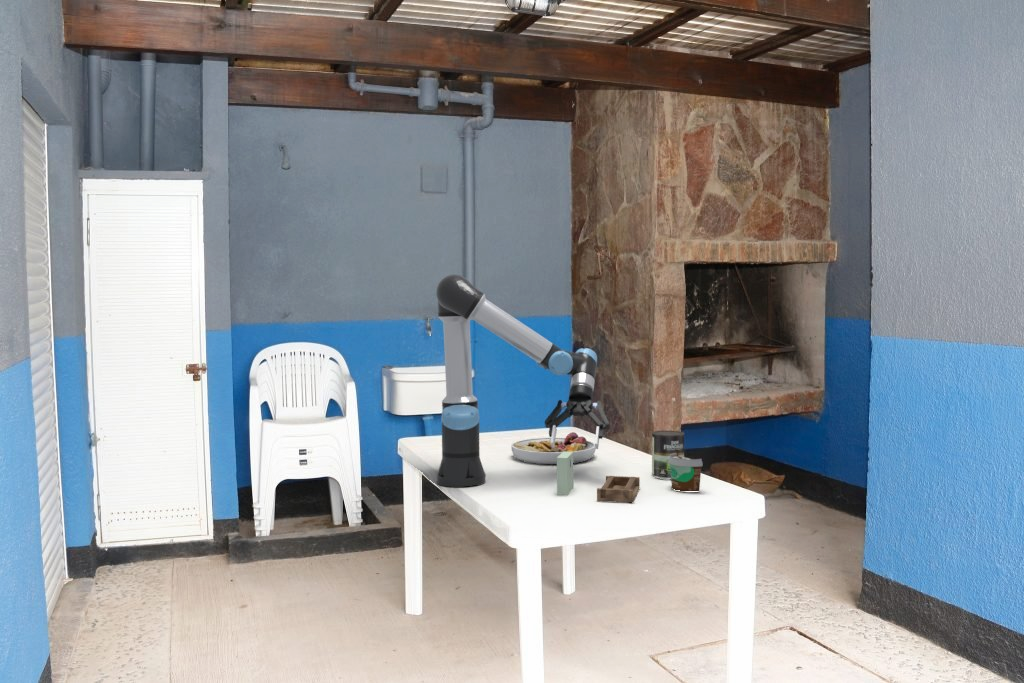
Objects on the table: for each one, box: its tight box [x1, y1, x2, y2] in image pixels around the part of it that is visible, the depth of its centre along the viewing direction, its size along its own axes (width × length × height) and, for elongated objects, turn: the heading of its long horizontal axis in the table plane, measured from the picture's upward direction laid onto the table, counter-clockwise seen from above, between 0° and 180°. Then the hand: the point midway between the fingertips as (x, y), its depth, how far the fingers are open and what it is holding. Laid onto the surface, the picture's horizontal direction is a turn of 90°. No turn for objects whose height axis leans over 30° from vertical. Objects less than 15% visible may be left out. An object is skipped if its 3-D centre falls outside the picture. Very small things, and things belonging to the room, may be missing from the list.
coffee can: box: [651, 429, 686, 480], centre depth 271 cm, size 10×10×14 cm
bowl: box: [510, 431, 597, 465], centre depth 304 cm, size 30×30×8 cm
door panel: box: [556, 451, 574, 496], centre depth 252 cm, size 3×10×11 cm, turn 165°
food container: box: [668, 453, 704, 492], centre depth 252 cm, size 12×6×10 cm, turn 29°
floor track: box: [596, 475, 641, 503], centre depth 247 cm, size 10×18×4 cm, turn 165°
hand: (574, 445), depth 259 cm, fingers open, 13 cm apart
